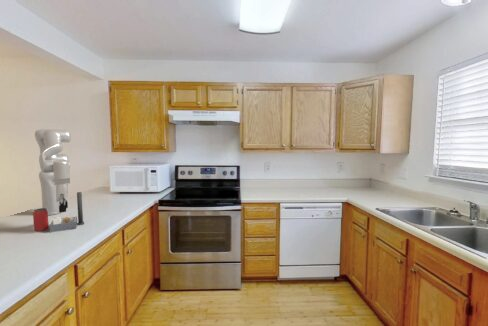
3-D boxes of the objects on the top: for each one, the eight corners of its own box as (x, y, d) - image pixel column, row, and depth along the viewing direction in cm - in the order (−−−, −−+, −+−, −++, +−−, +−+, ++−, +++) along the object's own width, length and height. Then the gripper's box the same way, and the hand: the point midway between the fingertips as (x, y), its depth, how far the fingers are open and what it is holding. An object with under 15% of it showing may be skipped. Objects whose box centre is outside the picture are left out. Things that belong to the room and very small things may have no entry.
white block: (54, 222, 142) (54, 217, 142) (60, 221, 143) (60, 216, 143) (53, 224, 138) (53, 219, 138) (60, 223, 140) (59, 218, 140)
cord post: (77, 223, 152) (75, 192, 151) (84, 222, 154) (82, 191, 153) (77, 225, 149) (75, 193, 148) (84, 224, 151) (82, 192, 150)
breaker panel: (53, 226, 148) (52, 217, 147) (77, 222, 154) (76, 214, 154) (50, 232, 138) (49, 222, 137) (76, 228, 144) (75, 219, 143)
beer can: (31, 232, 138) (30, 211, 137) (37, 228, 144) (36, 208, 143) (45, 231, 139) (44, 210, 139) (51, 227, 146) (49, 207, 145)
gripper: (56, 180, 149) (57, 207, 150) (51, 184, 134) (53, 214, 136) (71, 179, 153) (72, 206, 154) (68, 183, 138) (70, 212, 139)
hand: (63, 210), depth 145 cm, fingers open, 9 cm apart
